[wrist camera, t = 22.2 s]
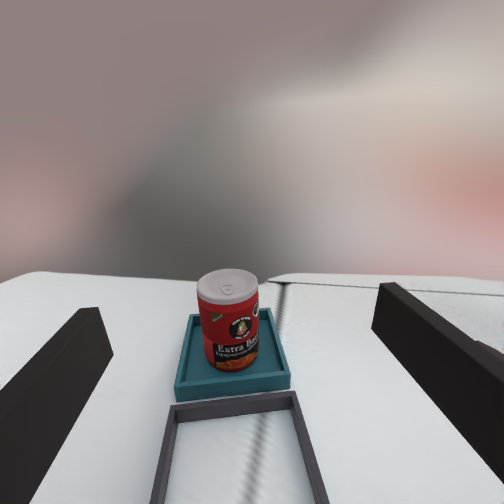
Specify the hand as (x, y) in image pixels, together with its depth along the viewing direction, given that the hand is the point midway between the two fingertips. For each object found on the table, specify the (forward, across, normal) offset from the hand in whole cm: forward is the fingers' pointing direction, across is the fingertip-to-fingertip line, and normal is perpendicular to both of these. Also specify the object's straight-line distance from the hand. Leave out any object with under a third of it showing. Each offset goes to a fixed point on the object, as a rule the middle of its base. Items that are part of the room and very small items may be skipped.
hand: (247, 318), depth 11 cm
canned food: (+17, -1, -18) cm, 25 cm away
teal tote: (+17, -1, -18) cm, 25 cm away
